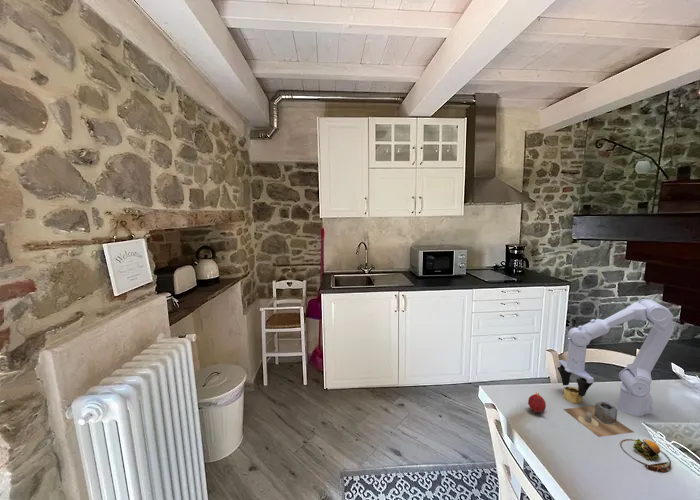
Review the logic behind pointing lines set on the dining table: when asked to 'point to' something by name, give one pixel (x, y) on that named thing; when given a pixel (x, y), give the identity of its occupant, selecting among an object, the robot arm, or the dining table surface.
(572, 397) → the yellow porous cube
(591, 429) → the gear board
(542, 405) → the red christmas ornament
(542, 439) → the dining table surface
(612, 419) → the grey stone pot
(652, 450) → the burger
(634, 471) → the dining table surface
